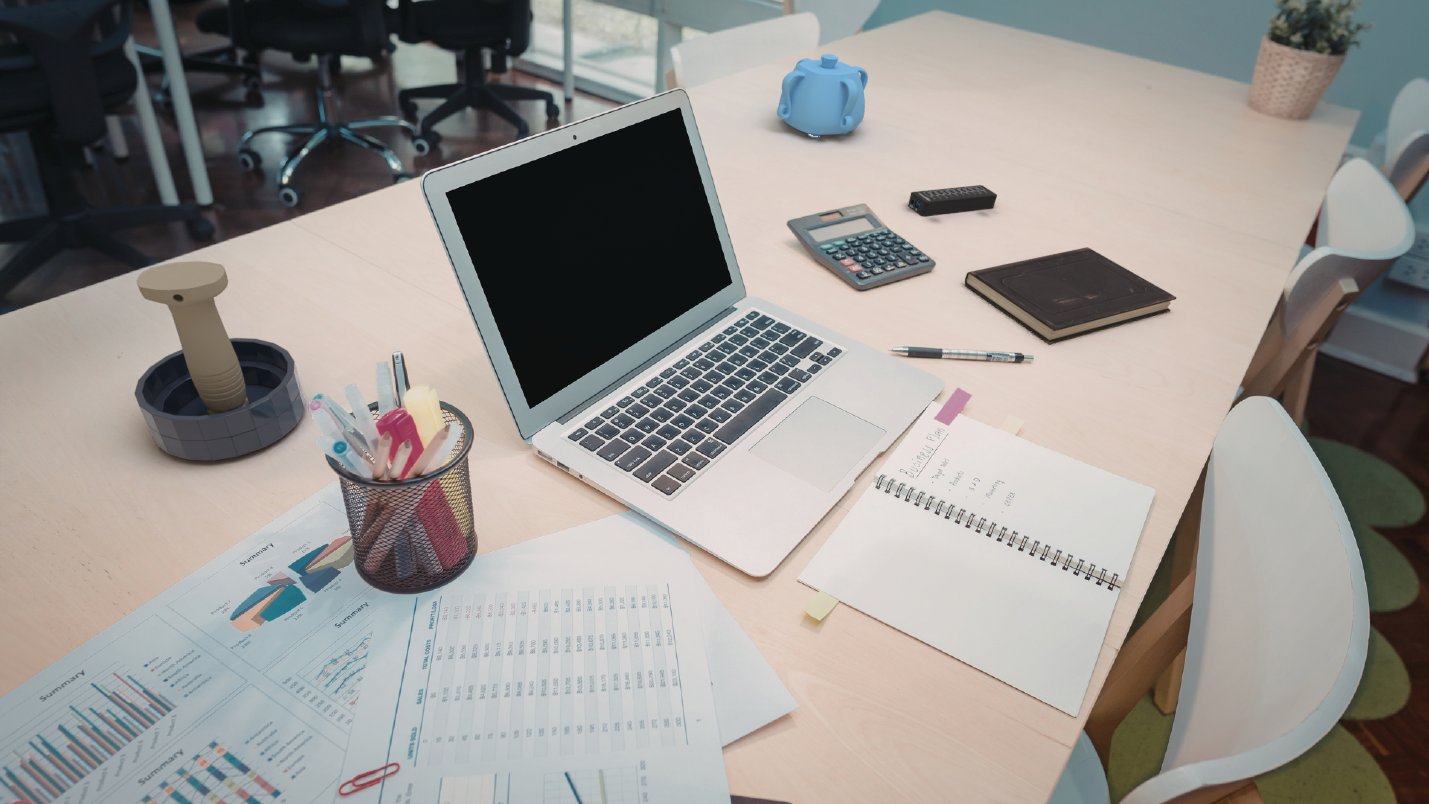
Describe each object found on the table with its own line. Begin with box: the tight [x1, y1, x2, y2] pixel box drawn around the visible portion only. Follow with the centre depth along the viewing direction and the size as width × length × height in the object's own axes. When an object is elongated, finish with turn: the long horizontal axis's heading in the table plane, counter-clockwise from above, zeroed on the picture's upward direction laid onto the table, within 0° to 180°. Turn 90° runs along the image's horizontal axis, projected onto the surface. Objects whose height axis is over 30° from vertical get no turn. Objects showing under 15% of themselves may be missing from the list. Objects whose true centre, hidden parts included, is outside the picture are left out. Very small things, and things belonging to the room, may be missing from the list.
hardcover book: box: [964, 246, 1178, 345], centre depth 110 cm, size 16×23×2 cm
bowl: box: [134, 337, 306, 461], centre depth 76 cm, size 13×13×5 cm
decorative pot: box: [776, 53, 869, 139], centre depth 155 cm, size 16×16×14 cm
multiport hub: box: [907, 184, 998, 217], centre depth 132 cm, size 4×14×2 cm, turn 113°
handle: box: [136, 260, 249, 415], centre depth 73 cm, size 5×6×15 cm
